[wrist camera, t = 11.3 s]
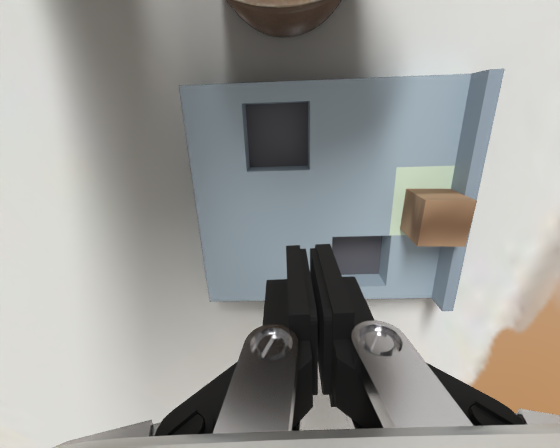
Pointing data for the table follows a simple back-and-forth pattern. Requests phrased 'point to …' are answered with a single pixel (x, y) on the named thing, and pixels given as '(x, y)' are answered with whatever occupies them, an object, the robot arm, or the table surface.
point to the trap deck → (333, 176)
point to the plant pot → (284, 15)
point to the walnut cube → (437, 217)
